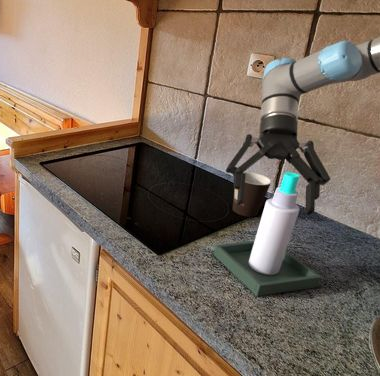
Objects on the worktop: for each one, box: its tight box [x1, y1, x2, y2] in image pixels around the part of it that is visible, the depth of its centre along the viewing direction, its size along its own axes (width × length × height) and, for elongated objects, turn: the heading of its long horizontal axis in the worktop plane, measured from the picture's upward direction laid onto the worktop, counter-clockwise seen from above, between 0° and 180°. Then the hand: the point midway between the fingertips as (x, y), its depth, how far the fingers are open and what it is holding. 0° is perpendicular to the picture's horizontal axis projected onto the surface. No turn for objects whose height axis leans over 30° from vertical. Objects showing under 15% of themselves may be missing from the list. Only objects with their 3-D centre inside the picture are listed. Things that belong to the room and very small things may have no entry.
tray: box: [213, 240, 322, 297], centre depth 87 cm, size 15×15×3 cm
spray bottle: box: [249, 171, 300, 275], centre depth 83 cm, size 6×6×22 cm
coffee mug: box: [232, 171, 272, 218], centre depth 112 cm, size 12×9×10 cm
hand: (274, 207), depth 87 cm, fingers open, 13 cm apart
